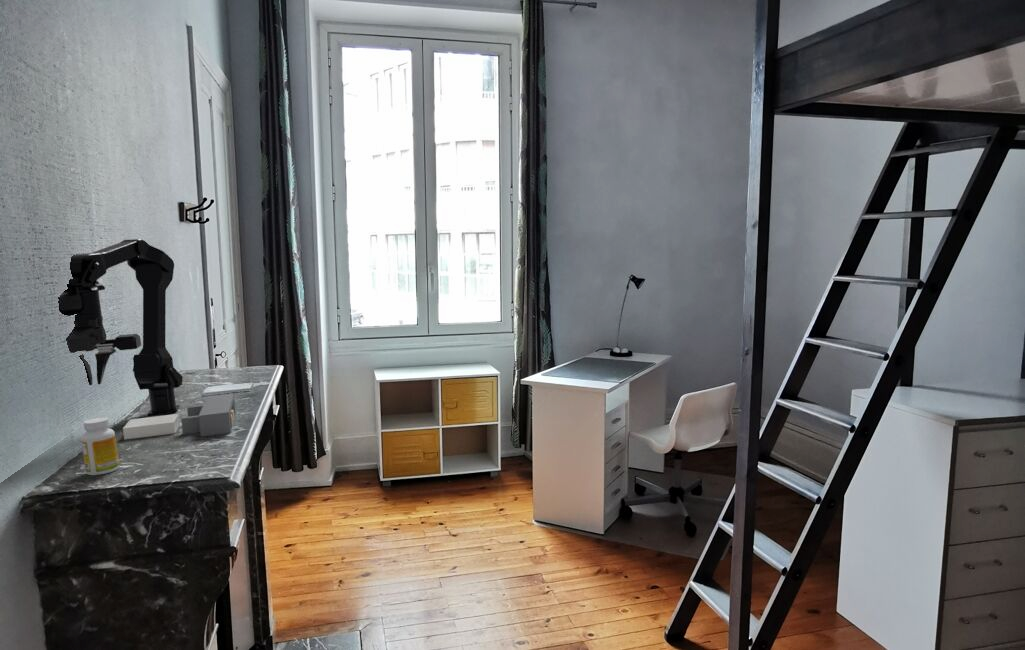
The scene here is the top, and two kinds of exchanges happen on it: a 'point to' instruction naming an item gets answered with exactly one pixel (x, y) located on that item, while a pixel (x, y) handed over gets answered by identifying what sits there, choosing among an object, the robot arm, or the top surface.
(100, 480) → the top surface
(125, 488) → the top surface
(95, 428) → the supplement bottle
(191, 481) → the top surface
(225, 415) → the dock
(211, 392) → the hard drive
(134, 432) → the white flat block
